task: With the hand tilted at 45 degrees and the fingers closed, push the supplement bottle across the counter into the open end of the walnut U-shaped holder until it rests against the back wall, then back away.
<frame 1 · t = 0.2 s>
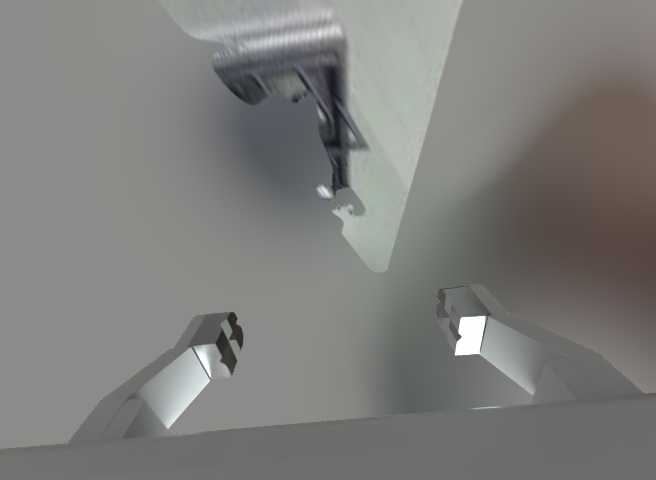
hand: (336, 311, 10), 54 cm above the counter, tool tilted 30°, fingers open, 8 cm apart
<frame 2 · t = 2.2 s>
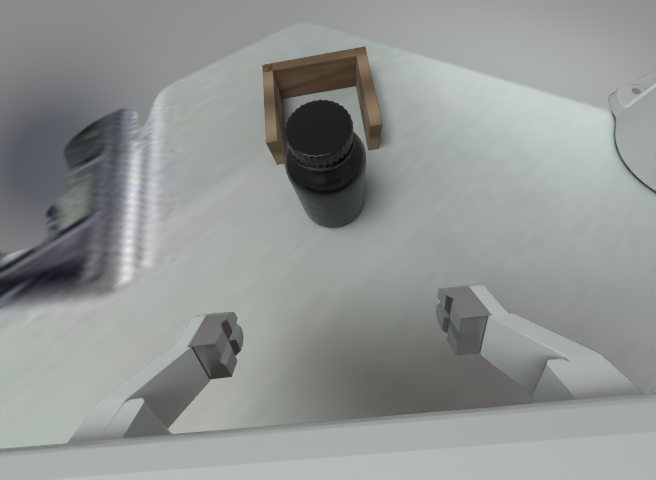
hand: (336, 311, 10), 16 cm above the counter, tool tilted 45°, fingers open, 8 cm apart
supplement bottle: (333, 202, 29), on the counter
walnut holder: (321, 116, 32), on the counter
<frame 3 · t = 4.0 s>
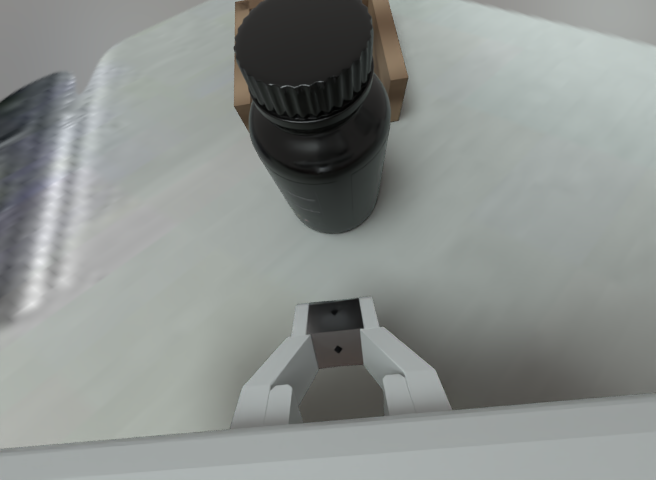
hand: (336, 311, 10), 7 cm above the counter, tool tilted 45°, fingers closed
supplement bottle: (333, 196, 20), on the counter
walnut holder: (318, 78, 23), on the counter
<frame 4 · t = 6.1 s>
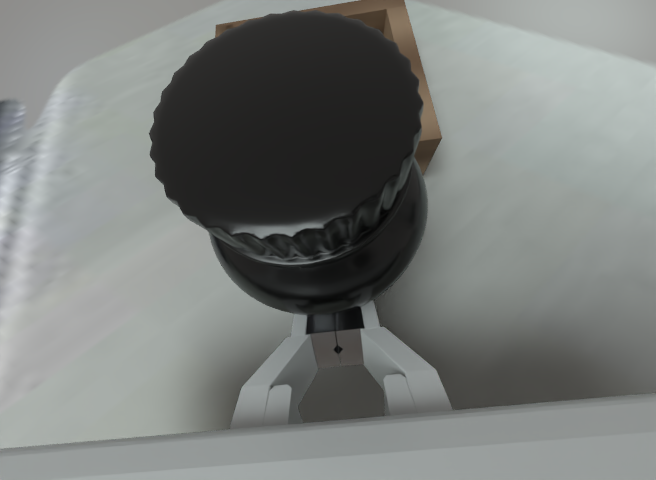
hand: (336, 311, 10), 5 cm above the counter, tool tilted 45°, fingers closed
supplement bottle: (333, 259, 16), on the counter, touching gripper
walnut holder: (320, 118, 19), on the counter
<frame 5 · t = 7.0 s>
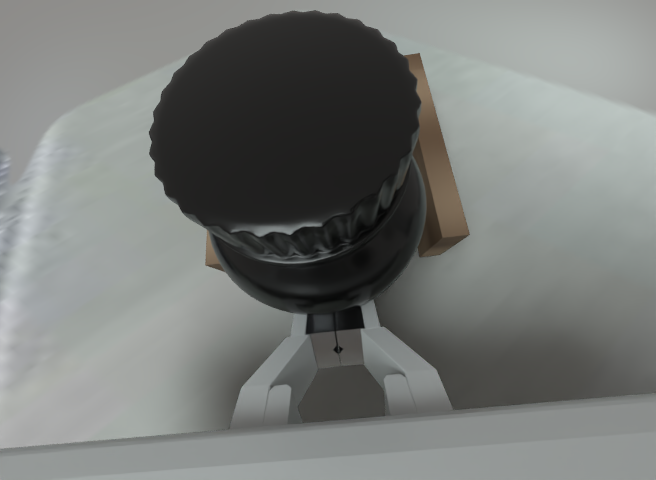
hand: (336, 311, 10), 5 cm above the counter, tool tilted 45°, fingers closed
supplement bottle: (333, 259, 16), on the counter, touching gripper
walnut holder: (328, 180, 17), on the counter
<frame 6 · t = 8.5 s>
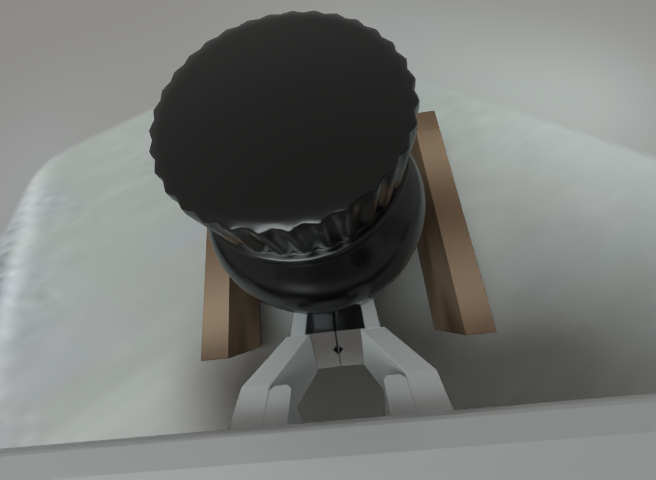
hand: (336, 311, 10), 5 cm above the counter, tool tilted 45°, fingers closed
supplement bottle: (333, 260, 16), on the counter, touching gripper
walnut holder: (334, 238, 16), on the counter
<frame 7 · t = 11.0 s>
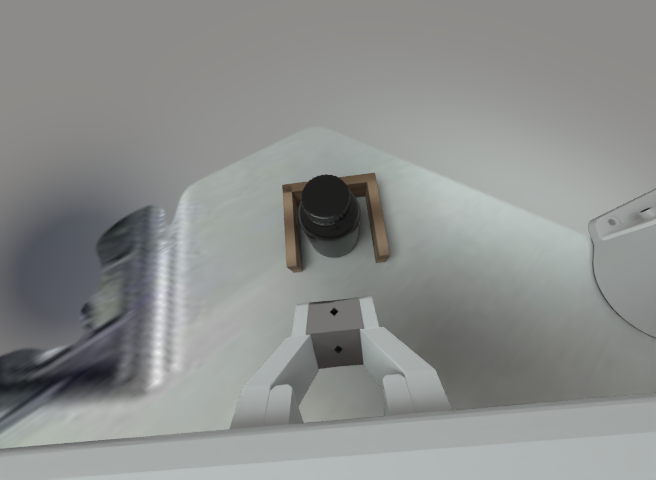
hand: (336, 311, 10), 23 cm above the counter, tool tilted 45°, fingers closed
supplement bottle: (333, 235, 35), on the counter
walnut holder: (334, 225, 36), on the counter
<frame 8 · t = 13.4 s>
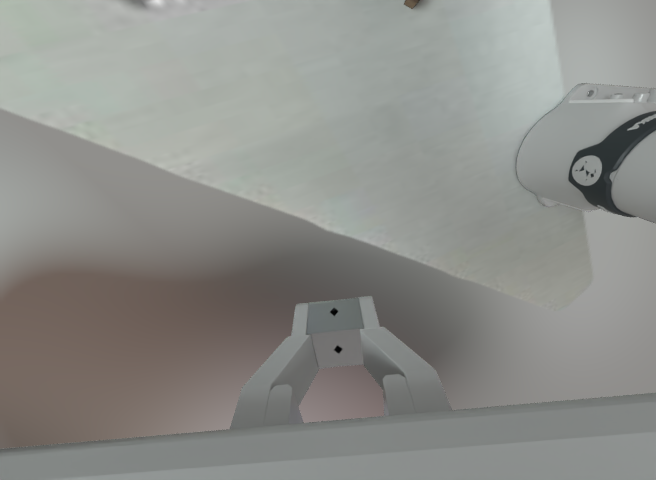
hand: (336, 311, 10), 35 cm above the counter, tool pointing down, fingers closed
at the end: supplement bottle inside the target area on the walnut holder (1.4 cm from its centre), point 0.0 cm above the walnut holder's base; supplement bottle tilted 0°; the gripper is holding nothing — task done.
